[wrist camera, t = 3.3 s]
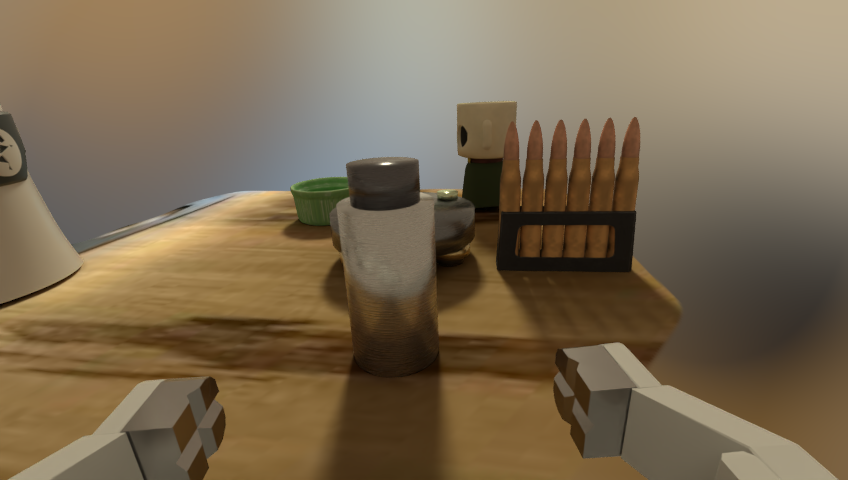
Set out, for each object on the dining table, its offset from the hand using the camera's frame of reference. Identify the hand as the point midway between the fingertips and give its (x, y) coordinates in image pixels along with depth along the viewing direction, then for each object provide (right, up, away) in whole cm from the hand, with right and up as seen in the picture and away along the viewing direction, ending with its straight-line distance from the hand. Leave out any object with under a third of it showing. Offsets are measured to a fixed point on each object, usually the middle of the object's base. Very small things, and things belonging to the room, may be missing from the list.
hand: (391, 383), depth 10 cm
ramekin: (-11, +6, +42) cm, 44 cm away
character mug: (+9, +8, +43) cm, 45 cm away
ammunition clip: (+12, +1, +24) cm, 27 cm away
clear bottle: (-1, -3, +14) cm, 14 cm away
